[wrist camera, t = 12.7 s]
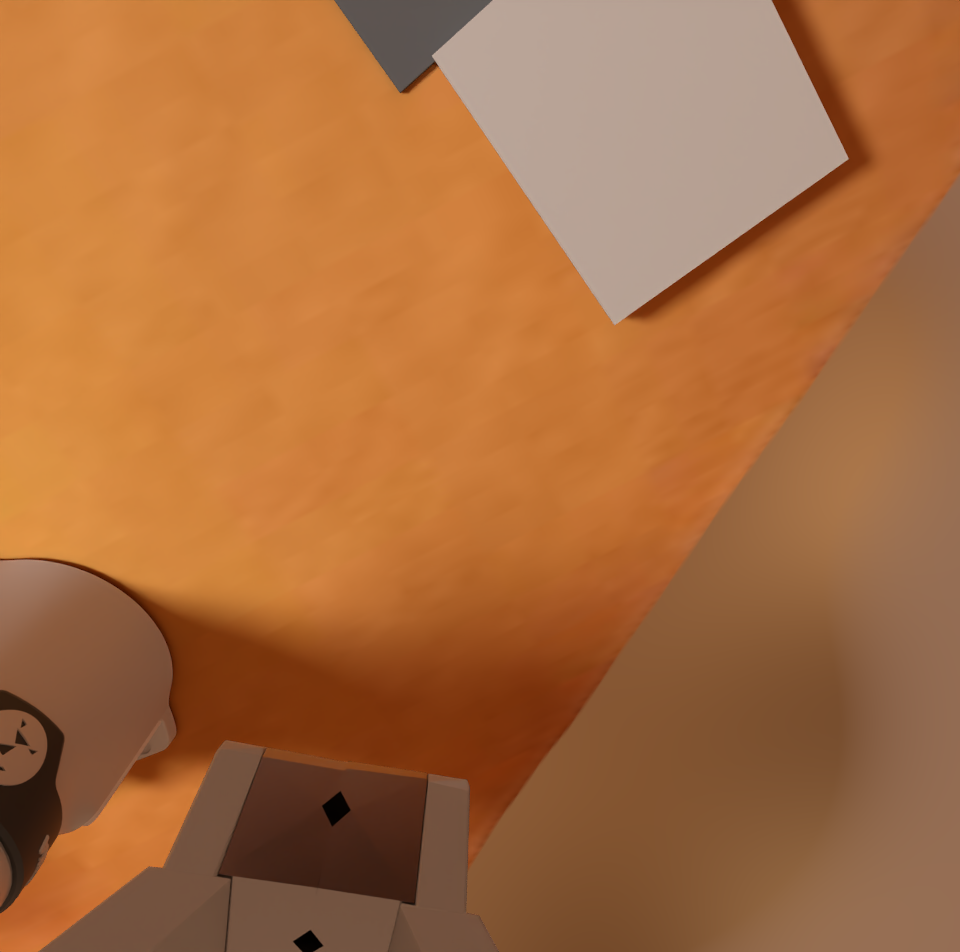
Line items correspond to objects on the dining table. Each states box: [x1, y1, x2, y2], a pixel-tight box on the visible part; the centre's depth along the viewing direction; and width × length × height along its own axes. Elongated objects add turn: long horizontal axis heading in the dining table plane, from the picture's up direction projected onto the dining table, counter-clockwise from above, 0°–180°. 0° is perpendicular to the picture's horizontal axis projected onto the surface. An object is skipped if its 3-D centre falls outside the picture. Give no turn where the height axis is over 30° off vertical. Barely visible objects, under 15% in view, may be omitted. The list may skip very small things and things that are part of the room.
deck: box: [432, 0, 849, 325], centre depth 30 cm, size 12×14×2 cm
